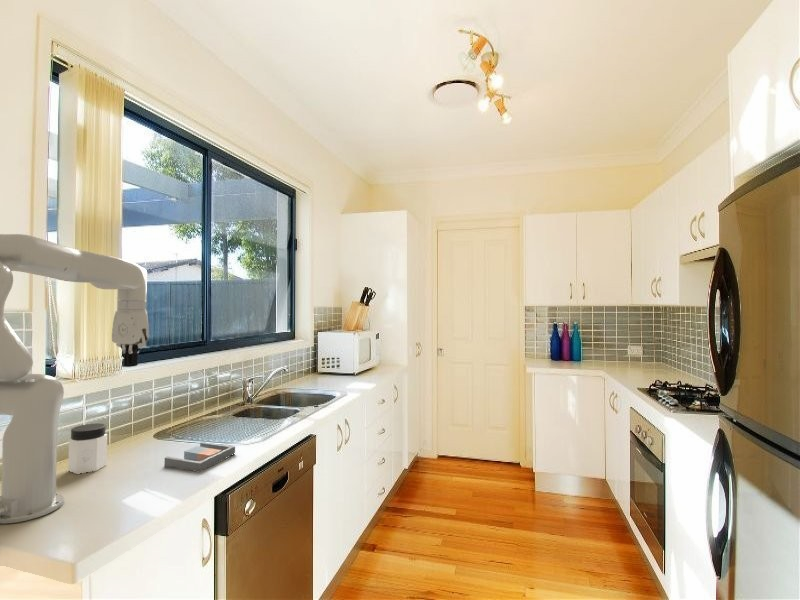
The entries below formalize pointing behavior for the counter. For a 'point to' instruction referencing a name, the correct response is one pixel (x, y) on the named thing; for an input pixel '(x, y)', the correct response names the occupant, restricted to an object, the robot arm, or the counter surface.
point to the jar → (87, 448)
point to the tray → (204, 463)
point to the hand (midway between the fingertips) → (130, 366)
